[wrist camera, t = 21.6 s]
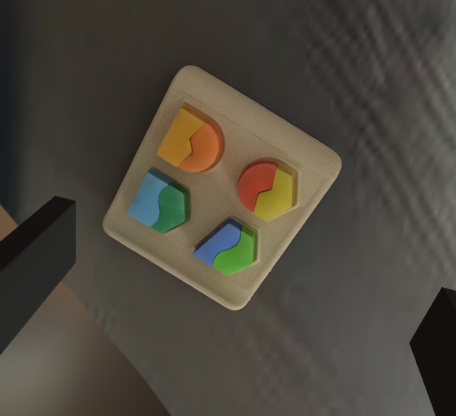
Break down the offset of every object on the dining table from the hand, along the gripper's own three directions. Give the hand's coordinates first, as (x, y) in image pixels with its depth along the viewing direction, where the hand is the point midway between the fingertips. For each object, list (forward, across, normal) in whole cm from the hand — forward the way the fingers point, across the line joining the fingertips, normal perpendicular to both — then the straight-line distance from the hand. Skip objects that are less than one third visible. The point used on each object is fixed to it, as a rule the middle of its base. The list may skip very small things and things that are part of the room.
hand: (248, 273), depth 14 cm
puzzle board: (+24, -3, -9) cm, 26 cm away
